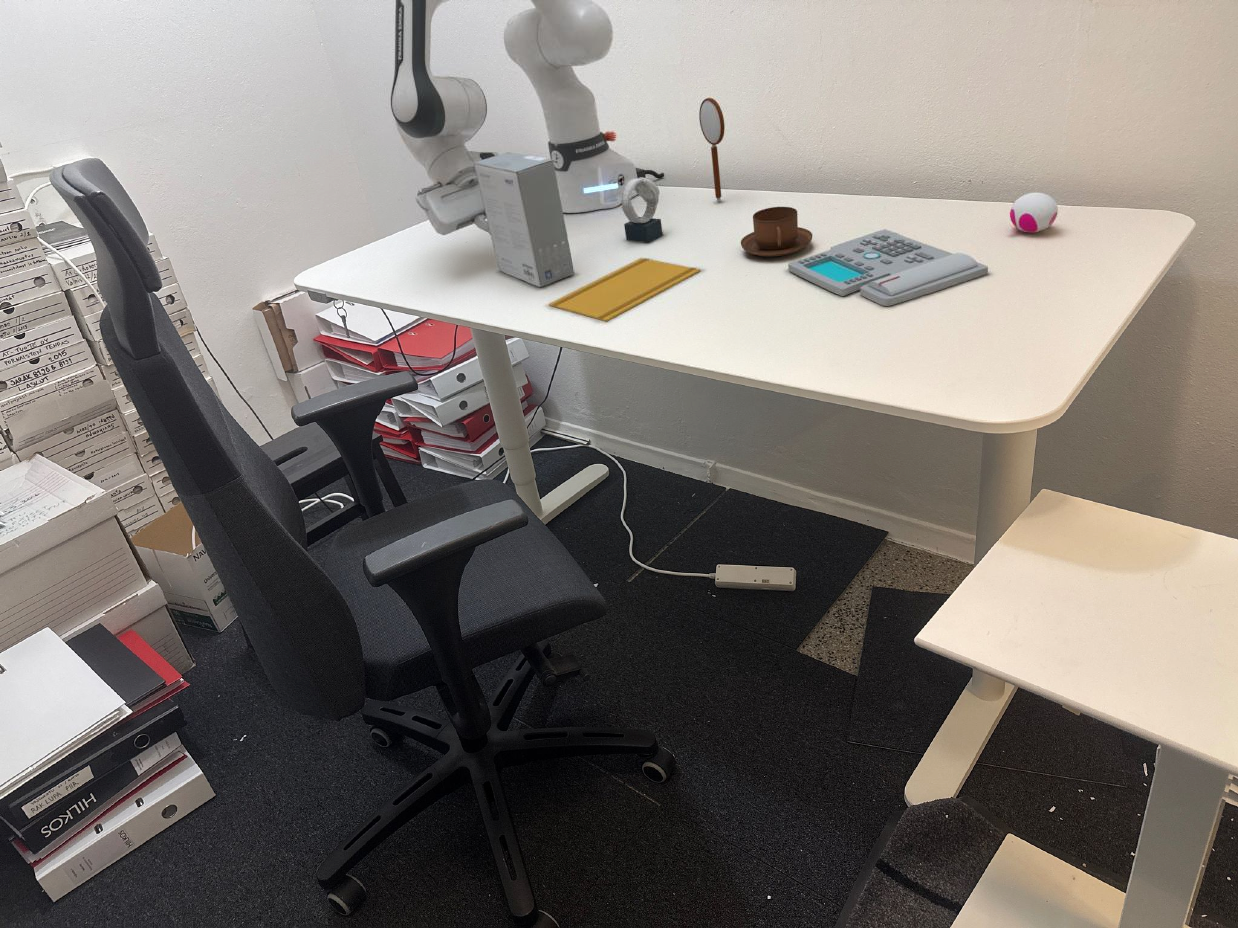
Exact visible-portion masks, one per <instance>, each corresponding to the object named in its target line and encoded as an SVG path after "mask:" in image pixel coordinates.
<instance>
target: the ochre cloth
mask: <svg viewBox="0 0 1238 928" xmlns="http://www.w3.org/2000/svg"><path fill="white" fill-rule="evenodd" d="M699 272H701V269H700V268H696V267H689V266H684V265H679V264H674V263H668V262H664V261H658V260H653V259H650V258H644V257H643V258H642V257H640V258H639V259H636V260H634V261H633V262H631V263H628V264H627V265H625V266H623V267H620V268H618V269H616V270H615V271H612V272H611V273H608V274H607V275H604V276H603V277H600V278H598V279H596V280H594V281H592V282H590V283H587V284H586V285H584V286H582V287H580V288H578V289H576V290H574V291H571V292H570V293H568V294H566V295H563V296H562V297H560V298H557V299H556V300H554V301H552V302H550V303H548V306H549V307H552V308H557V309H560V310H563V311H567V312H569V313H570V312H571V313H575V314H578V315H582V316H585V317H590V318H593V319H596V320H600V321H603V322H609V321H610V320H612V319H614V318H616V317H618V316H620V315H622V314H624V313H625V312H627V311H629V310H630V309H633V308H634V307H636V306H638V305H639V304H642V303H644V302H645V301H648V300H649V299H652V298H653V297H655V296H657V295H659V294H660V293H662V292H664V291H666V290H669V289H670V288H671V287H674V286H676V285H677V284H679V283H681V282H683V281H685V280H687V279H689V278H691V277H692V276H694V275H696V274H698V273H699Z"/></svg>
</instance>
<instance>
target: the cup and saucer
mask: <svg viewBox="0 0 1238 928" xmlns="http://www.w3.org/2000/svg"><path fill="white" fill-rule="evenodd" d="M752 224H753V232H750V233H747V234H746V235H745V236H743V238H742V239H741V240H740V247H741V248H742V249H743V250H744V251H745V252H747V253H748V254H751V255H754V256H759V257H780V256H785V255H790V254H793V253H797V252H799V251H801V250H803V249H804V248H807V246H808V245H809V244H810V243H811V242H812V241H813V232H811V230H809V229H807V228H804V227H799V223H798V210H797V209H796V208H793V207H790V206H772V207H767V208H763V209H760V210H758V211H756V212H755V213H753V215H752Z"/></svg>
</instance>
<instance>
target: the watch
mask: <svg viewBox="0 0 1238 928" xmlns="http://www.w3.org/2000/svg"><path fill="white" fill-rule="evenodd" d="M633 189H634V191H636V192H637V196H639V197H641V198H642V200H643V202H644V203H646V207H645V210H644V213H643V214H642V216H638V214H637V212H636V210H635V208H634V206H633V205H632V202H631V201H632V200H631V199H632V198H631V194H632V191H633ZM659 195H660V189H659V187H658V185H657V184H656V183H655V182H653V181H652V180H650V179H649V178H638V179H631V180H629V181H628V182H627V183H626V185H625V186H624V188H623V191H622V197H621V202H622V203H621V209H622V211H623V214H624V215H625V217H626V218H627V220H628V222H625V223H624V224H623V226H624V234H625V239H626V241H628V242H629V241H630V242H635V243H636V242H637V243H645V244H650V243H651V242H653V241H655V240H657V239H659V238H661V237H662V236H663V235H664V233H663V226H662V219H661V218H654V216H655V213H656V212H657V208H658V204H659V201H660V200H659Z"/></svg>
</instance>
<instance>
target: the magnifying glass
mask: <svg viewBox="0 0 1238 928" xmlns="http://www.w3.org/2000/svg"><path fill="white" fill-rule="evenodd" d="M698 115H699V116H698V118H699V125H700V129H701V132H702V135H703V137H704V139H705V140H706V141H707V143H709V144H710V145H711V147H710V152H711V162H712V163H711V164H712V174H713V184H714V195H715V199H716V202H717V203H720V202H721V198H722V189H721V188H722V187H721V177H720V165H719V153H718V146H717V145H719V144H720V143H721V142H722V141H723V139H724V136H725V118H724V114H723V111H722V108H721V106H720V104H719V103H718V102H717V100H715V99H714V98H712V97H706V98H705V99H704V100H702V102H701V103H700V107H699V114H698Z"/></svg>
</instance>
